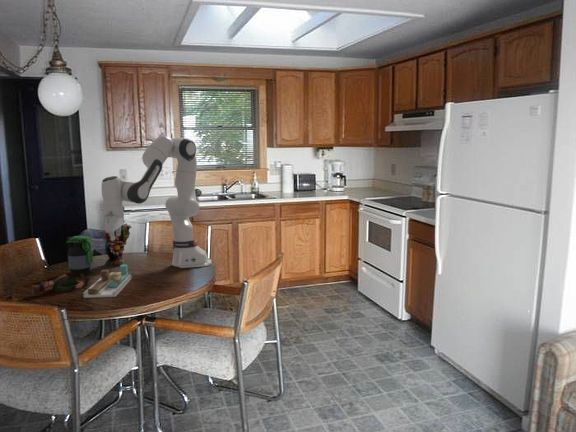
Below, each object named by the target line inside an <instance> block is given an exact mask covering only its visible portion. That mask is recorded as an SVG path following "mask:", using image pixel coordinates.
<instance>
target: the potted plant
mask: <svg viewBox="0 0 576 432" xmlns="http://www.w3.org/2000/svg"><path fill="white" fill-rule="evenodd" d="M65 243H67V244H66V245H67V259H68V262H67V263H68V270H69V272H70V274H71V275H72V276H80V275H81V274H83V275H84V276H85V275H87V274H89V273H90V270H91V263H92V262H93V260H94V259H93V248H92V247H93V246H92V237H91V235H89V236H88V235H87V236H86V235H85V236H84V235H83V236H82V235H75V236H66V241H65Z"/></svg>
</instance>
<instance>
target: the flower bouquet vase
mask: <svg viewBox="0 0 576 432" xmlns="http://www.w3.org/2000/svg"><path fill="white" fill-rule="evenodd" d="M130 229H132V226H131V225H130V224H129V223H127V222H126V221H125V220H124V224H123V225H122V226H121V232H120V233H121V235H120V236H116V231H114V236H115V240H113V241H111V238H110V235H109V233H106V232H105V234H104V239H105V240H107V241H108V242H107V243H106V247H105V251H106V253H105V255H107V257H108V259H107V260H106V261H105V263H104V264H105V266H106V268H108V267H109V268H113V267H114V268H115V267H120V266H121V265H126V264H125V262H124V260H123V259H124V257H123V256H124V255H123V253H124V251H125V246H126V245H127V244H128V242H127V240H128V239H129V237H130Z"/></svg>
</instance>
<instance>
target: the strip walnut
mask: <svg viewBox="0 0 576 432" xmlns="http://www.w3.org/2000/svg"><path fill="white" fill-rule="evenodd" d="M109 274H110V269H102V270H101V271H100V278H101V280H100V281H99V282H98V283H97V284H96V285H95V286H94V287H93V288H91V289H88V288H87V289H88V294H98V292H99V291H100V290H101V289H102V288H103V287H104V286H105V285H106V284H107V283H109Z"/></svg>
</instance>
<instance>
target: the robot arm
mask: <svg viewBox="0 0 576 432" xmlns="http://www.w3.org/2000/svg"><path fill="white" fill-rule="evenodd" d="M196 153H197V146H196V143H195V141H194V140H192V139H190V138H181V137H173V138H172V137H171V138H170V137H168V136H166V135H159V136H158V137H157V138H155V139H154V140H153V141H152V142H151V143H150V144H149V145H148V147H146V149H145V150H144V152H143V154H142V157H141V160H142V162H143V165H145V167H146V170H145V172H144V174H143V175H142V177H141V179H140V180H138V181H136V182H133V181H132V182H131V181H127V180H124V179H121V178H119V177H118V176H117V175H116V176H113V175H112V176H107V177H105V178H103V179H102V181H101V197H102V210H103V215H104V216H105V217H104V232H105V234H106V233H109V235H110V238H111V241H113V240H115V236H114V231H116V236H120V235H121V233H120V232H121V226H122V225H123V224H125V222H124V221H125V214H124V211H125V206H123V201H124V202H130V203H135V204H142V203H145V202H146V201H147V200H148V198H149V196H150V192H151V189H152V187H153V186H154V184H155V183H156V181H157V179H158V178H159V176H160V174H161V172H162V169H163V165H164V163H165V162H166V161H167V159H168V158H172V159H176V161H177V165H176V169H175V170H176V171H175V172H176V173H175V180H174V187H175V188H176V192H177V195H173V196H170V197H168V198H167V199H166V200H165V205H164V206H165V209H166V211H167V212H168V214H169V217H170V221H171V226H172V235H173V240H172V249H173V254H172V255H173V256H172V262H171V265H172V266H174V267H177V268H179V269H185V268H196V267H197V268H200V267H209V266H210V265H211V264H212V259H211V258H208V254H207V251H206V250H205V249H203V248H201V247H200V246H198V240H197V239H195V238H194V227H193V224H192V223H191V221H190V218H192V217H194V216H196V215H198V213H199V211H200V204H199V202H198V200H197V195H196V177H197V171H198V170H197V168H198V165H197V164H198V163H197V157H196Z"/></svg>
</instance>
